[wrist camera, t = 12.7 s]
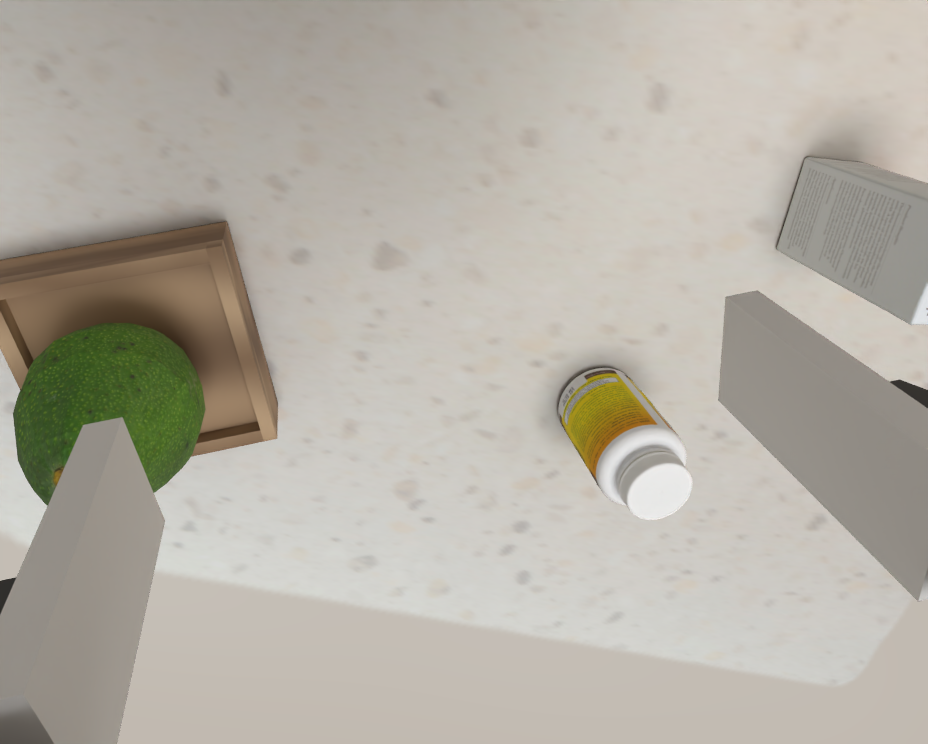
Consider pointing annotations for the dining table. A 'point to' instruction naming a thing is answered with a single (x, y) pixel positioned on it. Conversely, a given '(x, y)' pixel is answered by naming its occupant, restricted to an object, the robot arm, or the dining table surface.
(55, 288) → the wooden tray
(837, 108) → the dining table surface
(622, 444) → the supplement bottle
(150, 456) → the avocado
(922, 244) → the skincare box
